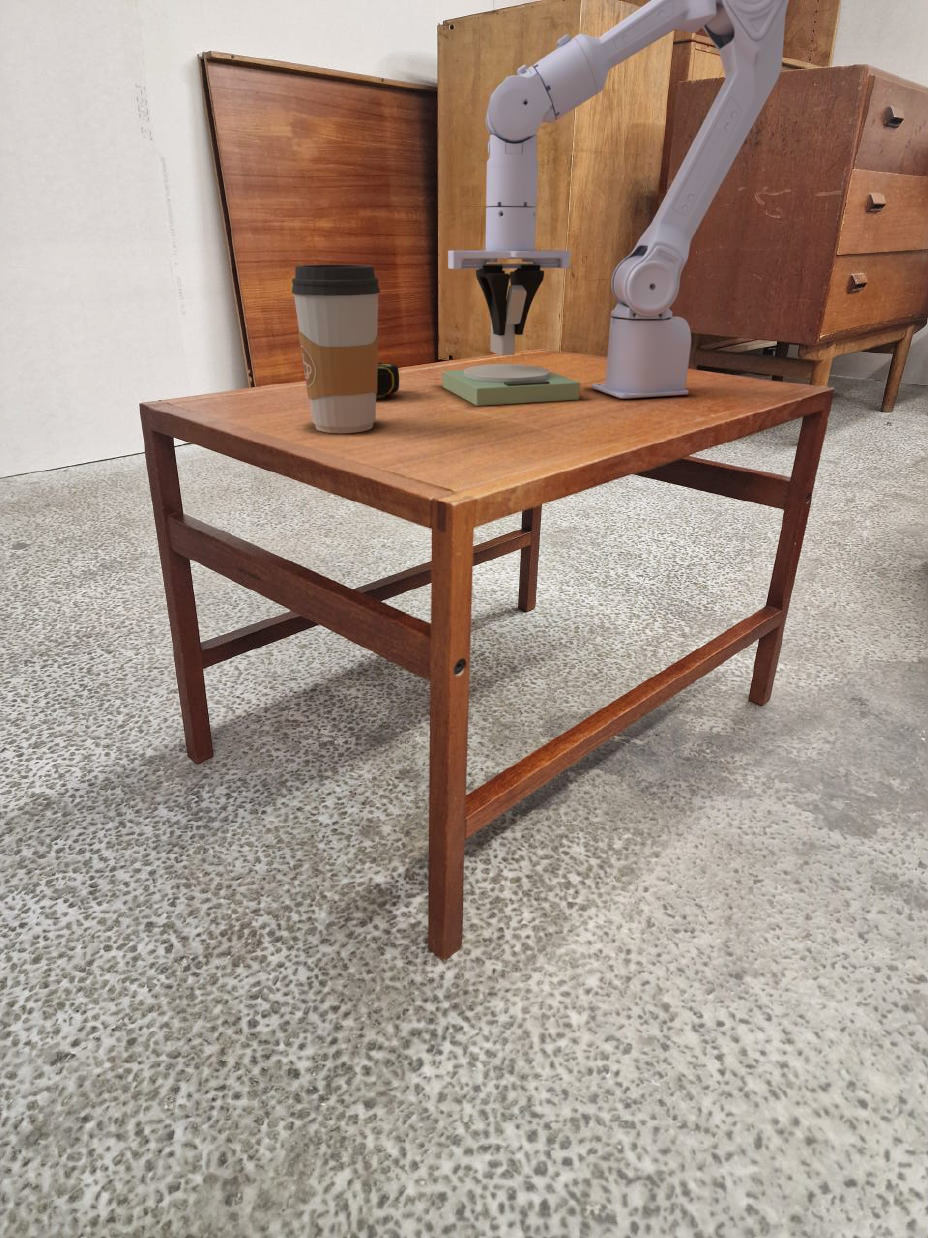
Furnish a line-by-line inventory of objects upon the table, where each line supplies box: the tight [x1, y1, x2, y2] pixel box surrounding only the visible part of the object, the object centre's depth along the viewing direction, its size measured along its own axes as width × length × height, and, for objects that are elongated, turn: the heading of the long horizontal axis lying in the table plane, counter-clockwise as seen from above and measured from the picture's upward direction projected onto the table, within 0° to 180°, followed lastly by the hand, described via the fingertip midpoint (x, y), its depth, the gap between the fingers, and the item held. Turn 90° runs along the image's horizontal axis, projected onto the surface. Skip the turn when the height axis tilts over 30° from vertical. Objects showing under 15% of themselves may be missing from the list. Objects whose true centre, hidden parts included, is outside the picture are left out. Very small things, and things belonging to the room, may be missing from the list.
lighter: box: [489, 284, 527, 357], centre depth 96 cm, size 7×2×8 cm, turn 19°
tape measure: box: [376, 362, 400, 400], centre depth 96 cm, size 7×7×4 cm
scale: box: [442, 363, 581, 407], centre depth 98 cm, size 13×13×3 cm
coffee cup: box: [291, 264, 381, 434], centre depth 78 cm, size 8×8×15 cm
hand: (507, 334), depth 97 cm, fingers closed on lighter, 2 cm apart
